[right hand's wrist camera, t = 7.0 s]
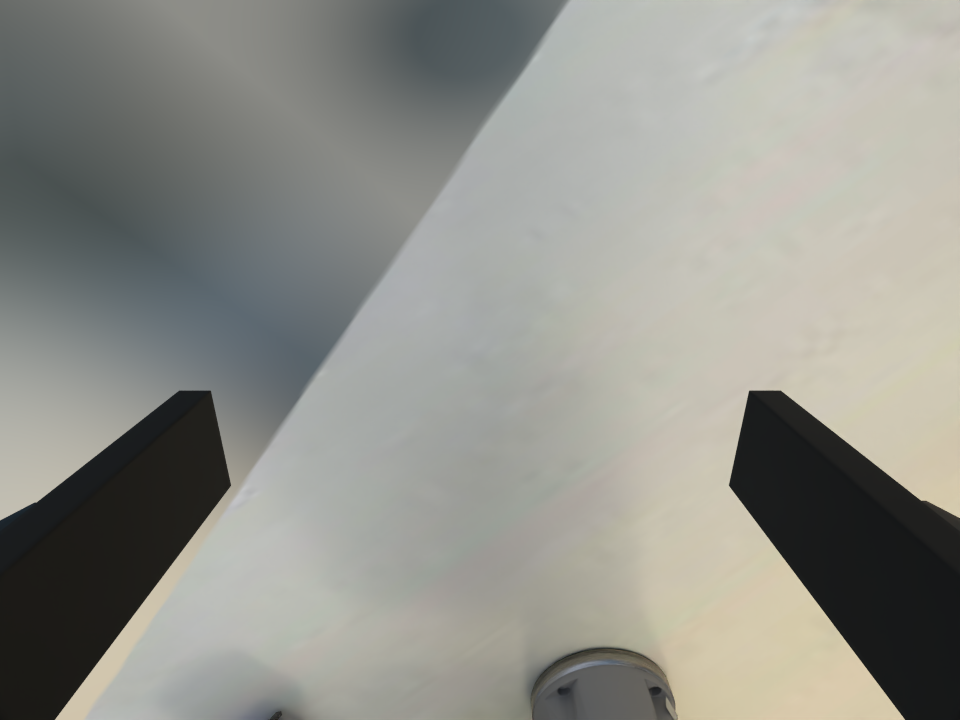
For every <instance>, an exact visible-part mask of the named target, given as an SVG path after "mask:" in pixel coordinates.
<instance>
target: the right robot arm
mask: <svg viewBox="0 0 960 720" xmlns="http://www.w3.org/2000/svg"><path fill="white" fill-rule="evenodd" d="M230 486H231V483H230V478H229V474H228V469H227V464H226V460H225V455H224V450H223V446H222V441H221V436H220V432H219V427H218V422H217V418H216V413H215V408H214V404H213V399H212V394H211V391H178V392H177V393H176V394H174V395H173V396H172V397H171V398H169V399H168V400H167V401H166V402H164V403H163V404H162V405H160V406H159V407H158V408H157V409H155V410H154V411H153V412H152V413H150V414H149V415H148V416H146V417H145V418H144V419H143V420H141V421H140V422H139V423H138V424H136V425H135V426H134V427H132V428H131V429H130V430H129V431H127V432H126V433H125V434H124V435H122V436H121V437H120V438H119V439H117V440H116V441H115V442H113V443H112V444H111V445H109V446H108V447H107V448H106V449H104V450H103V451H102V452H101V453H99V454H98V455H97V456H95V457H94V458H93V459H92V460H90V461H89V462H88V463H87V464H85V465H84V466H83V467H81V468H80V469H79V470H78V471H76V472H75V473H74V474H73V475H71V476H70V477H69V478H67V479H66V480H65V481H64V482H62V483H61V484H60V485H58V486H57V487H56V488H55V489H53V490H52V491H51V492H50V493H48V494H47V495H46V496H45V497H43V498H42V499H41V500H39V501H38V502H37V503H33V504H31V505H29V506H27V507H25V508H23V509H21V510H20V511H18V512H16V513H14V514H12V515H10V516H8V517H6V518H4V519H2V520H0V720H55V719H56V717H57V716H58V715H59V713H60V712H61V711H62V709H63V708H64V707H65V705H66V704H67V703H68V701H69V700H70V699H71V697H72V696H73V695H74V693H75V692H76V691H77V689H78V688H79V687H80V685H81V684H82V683H83V682H84V680H85V679H86V678H87V676H88V675H89V673H90V672H91V671H92V669H93V668H94V667H95V666H96V664H97V663H98V662H99V660H100V659H101V658H102V656H103V655H104V654H105V652H106V651H107V650H108V648H109V647H110V646H111V644H112V643H113V642H114V640H115V639H116V638H117V636H118V635H119V634H120V632H121V631H122V630H123V628H124V627H125V626H126V624H127V623H128V622H129V620H130V619H131V618H132V616H133V615H134V614H135V612H136V611H137V610H138V608H139V607H140V606H141V604H142V603H143V602H144V600H145V599H146V598H147V596H148V595H149V594H150V593H151V591H152V590H153V589H154V587H155V586H156V585H157V583H158V582H159V580H160V579H161V578H162V576H163V575H164V574H165V573H166V571H167V570H168V569H169V567H170V566H171V565H172V563H173V562H174V561H175V559H176V558H177V557H178V555H179V554H180V553H181V551H182V550H183V549H184V547H185V546H186V545H187V543H188V542H189V541H190V539H191V538H192V537H193V535H194V534H195V533H196V531H197V530H198V529H199V527H200V526H201V525H202V523H203V522H204V521H205V519H206V518H207V517H208V515H209V514H210V513H211V511H212V510H213V509H214V507H215V506H216V505H217V504H218V502H219V501H220V500H221V498H222V497H223V496H224V494H225V493H226V492H227V490H228V489H229V488H230ZM729 486H730V488H731V489H732V490H733V492H734V493H735V494H736V496H737V497H738V498H739V500H740V501H741V502H742V504H743V505H744V506H745V507H746V509H747V510H748V511H749V513H750V514H751V515H752V517H753V518H754V519H755V521H756V522H757V523H758V525H759V526H760V527H761V529H762V530H763V531H764V533H765V534H766V535H767V537H768V538H769V539H770V541H771V542H772V543H773V545H774V546H775V547H776V549H777V550H778V551H779V553H780V554H781V555H782V557H783V558H784V559H785V561H786V562H787V563H788V565H789V566H790V567H791V569H792V570H793V571H794V573H795V574H796V575H797V577H798V578H799V579H800V581H801V582H802V583H803V585H804V586H805V587H806V589H807V590H808V591H809V593H810V594H811V595H812V596H813V598H814V599H815V600H816V602H817V603H818V604H819V606H820V607H821V608H822V610H823V611H824V612H825V614H826V615H827V616H828V618H829V619H830V620H831V622H832V623H833V624H834V626H835V627H836V628H837V630H838V631H839V632H840V634H841V635H842V636H843V638H844V639H845V640H846V642H847V643H848V644H849V646H850V647H851V648H852V650H853V651H854V652H855V654H856V655H857V656H858V658H859V659H860V660H861V662H862V663H863V664H864V666H865V667H866V668H867V670H868V671H869V672H870V674H871V675H872V676H873V678H874V679H875V680H876V682H877V683H878V684H879V685H880V687H881V688H882V689H883V691H884V692H885V693H886V695H887V696H888V697H889V699H890V700H891V701H892V703H893V704H894V705H895V707H896V708H897V709H898V711H899V712H900V713H901V715H902V716H903V717H904V719H905V720H960V518H958V517H956V516H954V515H952V514H951V513H949V512H947V511H945V510H943V509H941V508H939V507H937V506H935V505H933V504H931V503H929V502H927V501H921V500H919V499H918V498H917V497H916V496H914V495H913V494H912V493H910V492H909V491H908V490H907V489H905V488H904V487H903V486H902V485H900V484H899V483H898V482H896V481H895V480H894V479H893V478H891V477H890V476H889V475H887V474H886V473H885V472H884V471H882V470H881V469H880V468H879V467H877V466H876V465H875V464H873V463H872V462H871V461H870V460H868V459H867V458H866V457H865V456H863V455H862V454H861V453H859V452H858V451H857V450H856V449H854V448H853V447H852V446H851V445H849V444H848V443H847V442H845V441H844V440H843V439H842V438H840V437H839V436H838V435H837V434H835V433H834V432H833V431H831V430H830V429H829V428H828V427H826V426H825V425H824V424H822V423H821V422H820V421H819V420H817V419H816V418H815V417H814V416H812V415H811V414H810V413H808V412H807V411H806V410H805V409H803V408H802V407H801V406H800V405H798V404H797V403H796V402H794V401H793V400H792V399H791V398H789V397H788V396H787V395H786V394H784V393H783V392H782V391H749V394H748V399H747V404H746V408H745V413H744V418H743V422H742V427H741V432H740V436H739V441H738V446H737V450H736V455H735V460H734V464H733V469H732V474H731V478H730V483H729ZM531 707H532V718H533V720H678V717H677V714H676V712H675V701H674V697H673V694H672V692H671V689H670V686H669V683H668V680H667V678H666V676H665V675H664V673H663V672H662V671H661V669H660V668H659V667H658V666H657V665H656V664H654V663H653V662H652V661H650V660H648V659H647V658H645V657H643V656H641V655H638V654H635V653H632V652H628V651H623V650H616V649H596V650H589V651H584V652H580V653H576V654H573V655H571V656H568V657H566V658H564V659H562V660H560V661H558V662H556V663H555V664H553V665H552V666H551V667H549V668H548V669H547V670H546V671H545V672H544V673H543V674H542V675H541V676H540V677H539V679H538V680H537V682H536V684H535V686H534V688H533V691H532V695H531Z"/></svg>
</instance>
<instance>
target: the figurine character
mask: <svg viewBox="0 0 960 720" xmlns="http://www.w3.org/2000/svg"><path fill="white" fill-rule="evenodd" d="M281 715H282V712H281V711H280V712H276V713H275V714H274V715H273V716H272V718H271V719H270V720H278V718H279V717H280V716H281Z"/></svg>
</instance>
